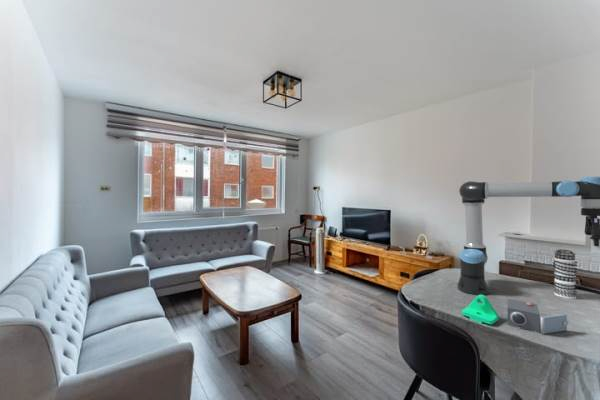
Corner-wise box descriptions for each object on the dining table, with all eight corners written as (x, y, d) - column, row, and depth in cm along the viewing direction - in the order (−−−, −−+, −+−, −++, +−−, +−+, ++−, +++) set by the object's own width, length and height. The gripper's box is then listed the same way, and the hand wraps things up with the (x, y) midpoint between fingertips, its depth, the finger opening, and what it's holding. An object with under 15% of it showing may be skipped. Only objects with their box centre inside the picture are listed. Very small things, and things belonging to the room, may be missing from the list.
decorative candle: (581, 300, 128) (580, 252, 128) (556, 297, 133) (555, 251, 133) (573, 294, 136) (573, 249, 136) (550, 291, 141) (550, 248, 141)
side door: (539, 332, 100) (539, 316, 100) (564, 329, 102) (564, 313, 102) (543, 334, 99) (543, 318, 98) (568, 331, 101) (568, 315, 101)
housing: (507, 326, 106) (507, 307, 106) (507, 314, 116) (507, 297, 116) (540, 334, 99) (540, 314, 99) (537, 320, 109) (537, 302, 109)
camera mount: (461, 316, 116) (460, 294, 116) (468, 311, 120) (468, 290, 120) (491, 327, 106) (491, 303, 105) (498, 322, 110) (498, 299, 110)
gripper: (611, 209, 111) (611, 256, 111) (597, 206, 129) (597, 246, 130) (586, 208, 116) (586, 253, 116) (576, 206, 134) (576, 245, 135)
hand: (592, 250), depth 123 cm, fingers open, 13 cm apart
